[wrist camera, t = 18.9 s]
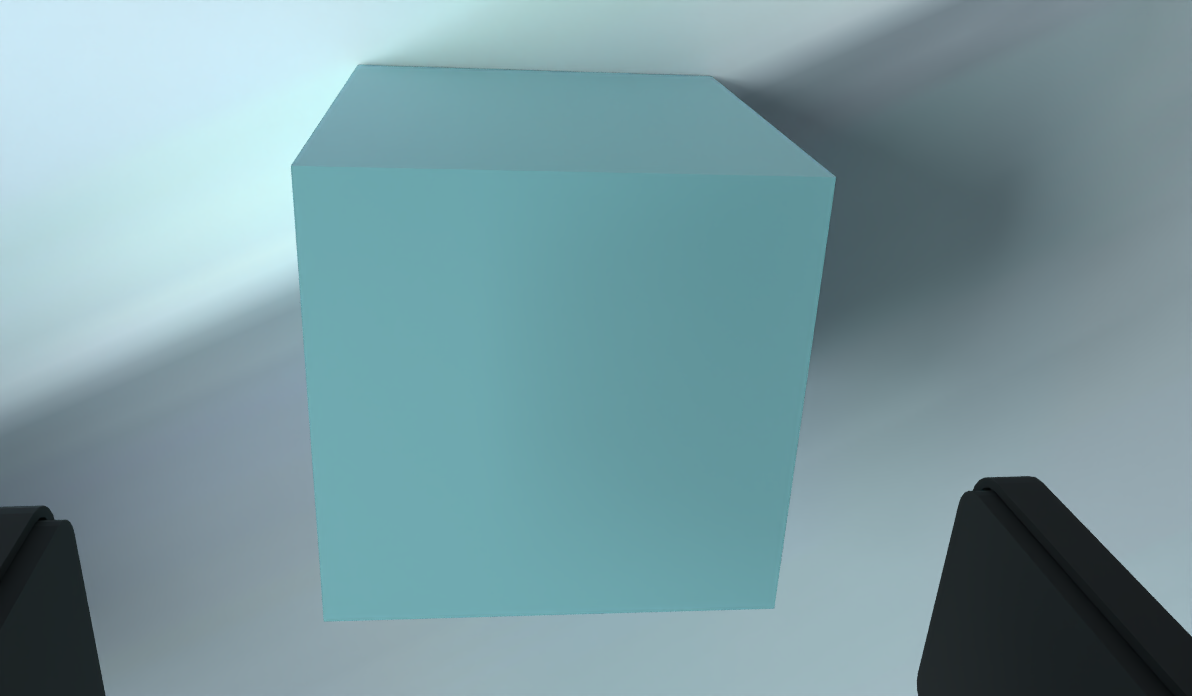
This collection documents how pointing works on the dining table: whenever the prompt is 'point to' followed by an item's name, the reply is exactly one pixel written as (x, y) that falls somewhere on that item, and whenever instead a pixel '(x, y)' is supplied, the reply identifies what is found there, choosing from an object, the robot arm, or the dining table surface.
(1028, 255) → the dining table surface
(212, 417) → the dining table surface
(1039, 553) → the robot arm
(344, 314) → the teal square block
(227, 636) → the dining table surface
